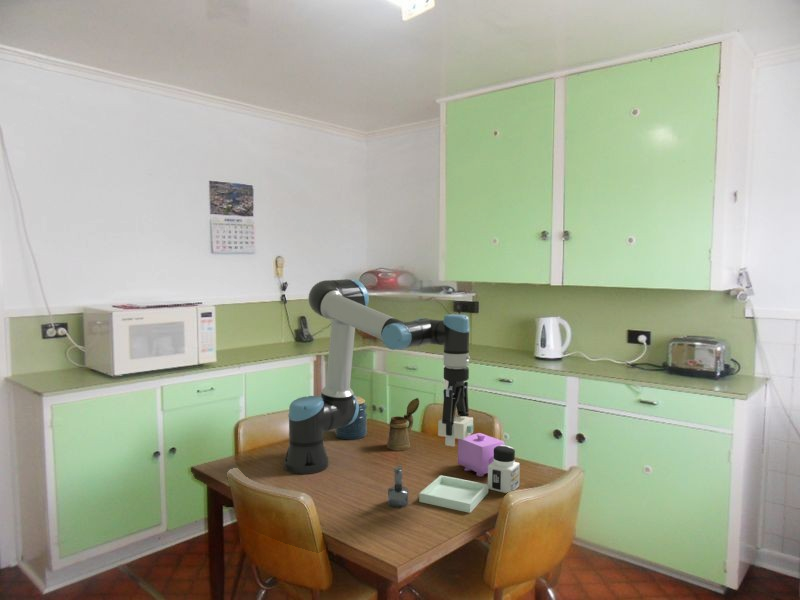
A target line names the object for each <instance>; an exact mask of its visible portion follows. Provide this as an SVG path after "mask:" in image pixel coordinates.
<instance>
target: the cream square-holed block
mask: <svg viewBox="0 0 800 600" xmlns="http://www.w3.org/2000/svg"><path fill="white" fill-rule="evenodd" d="M437 423H438V424H437V425H438V426H437V429H438V431H437V436H439V437H445V424H443V423H442V418H441V419H439V420H438V421H437ZM454 424H455V440H456V439H457V440H458V439H463V440H464V439H465V438H466V437H468V436H469V435H472V434H474V417H472V416H471V417H469V416H468V417H467V416H465V417H464V416H459V415H458V414H457V415H456V414H455V418H454Z"/></svg>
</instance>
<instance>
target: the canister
mask: <svg viewBox="0 0 800 600" xmlns="http://www.w3.org/2000/svg"><path fill="white" fill-rule="evenodd" d="M353 395H354V396H355V397H356V398H357V402H358V404H359V412H358V416H357V418H356V419H355V421H354V422H353V423H351V424H349V425H347V426H345V427H342V428H337V429H334V433H335V437H337V438H338V439H342V440H359V439H363V438H365V437H366V436H367V433H368V425H367V423H368V421H367V420H368V419H367V418H368V414H367V408H368V406H367V404H365V403H366V400H365V398H362V397H361V396H357V395H355V393H354V394H353Z"/></svg>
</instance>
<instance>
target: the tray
mask: <svg viewBox="0 0 800 600" xmlns="http://www.w3.org/2000/svg"><path fill="white" fill-rule="evenodd" d="M488 494H489V489H488V483H484V482H483V483H482V482H478V481H472V480H466V479H462V478H458V477H452V476H446V475H442V474H441V475H440V474H439V476H438V477H437V478H435V479H434V480H433V481H432V482H431V483H429V484H428V485H427V486H426V487H425V488H423V489H422V490H421V491H420V492H419V493H418V495H419V497H418V498H419V500H418V501H419V503H422V504H423V503H424V504H428V505H433V506H436V507H437V506H438V507H442V508H447V509H451V510H455V511H460V512H465V513H469V514H470V513H472V511H473V510H474V509H475V508H476V507H477V506H478V505H479V504H480V503H481V502H482V500H483V499H484V498H485V497H486V496H487V495H488Z"/></svg>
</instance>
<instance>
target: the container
mask: <svg viewBox="0 0 800 600" xmlns="http://www.w3.org/2000/svg"><path fill="white" fill-rule="evenodd" d="M515 458H516V450H515V449H514V447H512V446H509V445H505V444H504V445H501V446H497V447H495V448H494V461H493V462H492V463H491V464H489V465H488V473H487V484H488V490H491V491H496V492H499V493H504V494H507V492H509V491H512V490H514V491H515V490H517V489H518V487H519V486H520V473H521V472H520V468H521V467H520V465H521V464H520V463H521V462H517V461H515V460H516V459H515Z"/></svg>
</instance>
